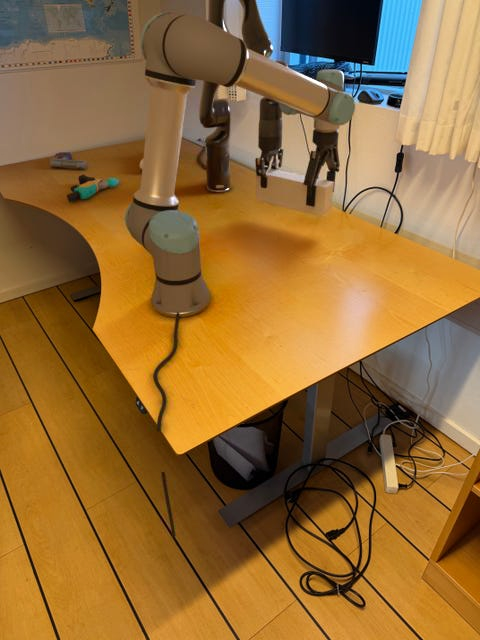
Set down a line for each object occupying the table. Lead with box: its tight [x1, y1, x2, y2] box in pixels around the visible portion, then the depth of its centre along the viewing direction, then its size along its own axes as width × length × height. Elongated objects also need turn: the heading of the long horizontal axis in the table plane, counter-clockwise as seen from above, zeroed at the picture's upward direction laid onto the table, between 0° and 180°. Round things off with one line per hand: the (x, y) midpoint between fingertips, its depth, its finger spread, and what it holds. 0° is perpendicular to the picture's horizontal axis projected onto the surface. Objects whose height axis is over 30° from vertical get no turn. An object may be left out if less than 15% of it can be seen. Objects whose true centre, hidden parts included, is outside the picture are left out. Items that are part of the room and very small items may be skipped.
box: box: [255, 168, 335, 218], centre depth 156 cm, size 25×6×10 cm, turn 56°
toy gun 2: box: [66, 173, 120, 203], centre depth 188 cm, size 4×26×15 cm
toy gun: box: [48, 151, 87, 170], centre depth 217 cm, size 4×19×15 cm
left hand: (320, 198), depth 152 cm, fingers open, 13 cm apart
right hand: (268, 184), depth 160 cm, fingers closed on box, 6 cm apart
